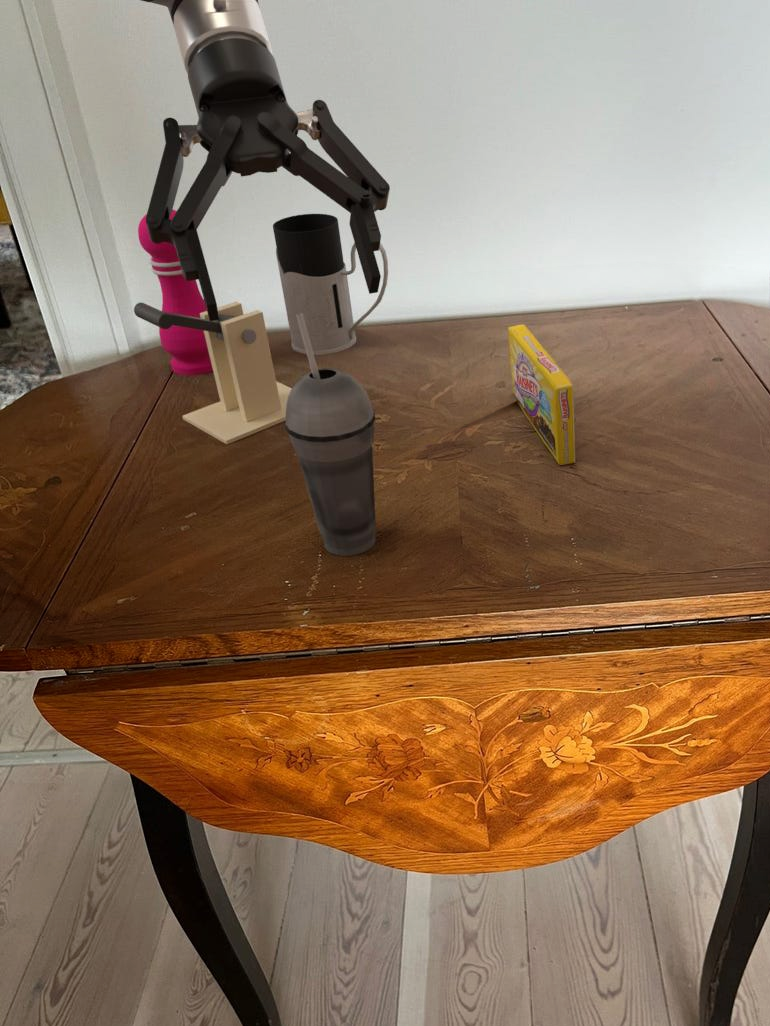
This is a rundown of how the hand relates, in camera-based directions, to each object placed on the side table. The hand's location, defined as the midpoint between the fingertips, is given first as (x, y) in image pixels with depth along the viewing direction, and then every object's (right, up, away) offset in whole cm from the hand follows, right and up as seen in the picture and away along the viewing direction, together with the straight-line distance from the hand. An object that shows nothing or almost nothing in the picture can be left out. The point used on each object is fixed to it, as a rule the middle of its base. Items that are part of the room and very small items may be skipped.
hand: (295, 299), depth 79 cm
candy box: (+22, -7, +20) cm, 30 cm away
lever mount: (-9, -4, +25) cm, 27 cm away
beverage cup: (+4, -20, +5) cm, 21 cm away
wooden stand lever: (-13, +2, +16) cm, 21 cm away
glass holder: (-2, +8, +39) cm, 40 cm away
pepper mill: (-19, +4, +37) cm, 41 cm away
